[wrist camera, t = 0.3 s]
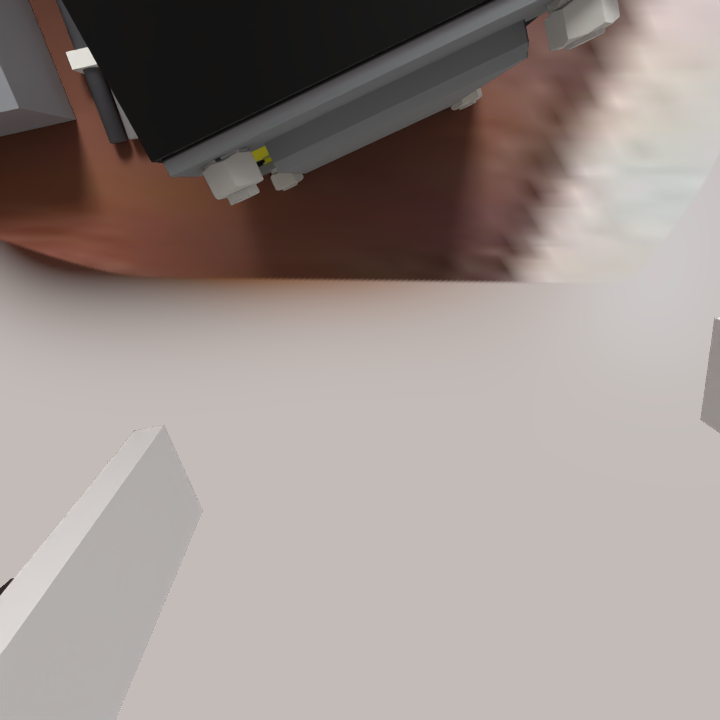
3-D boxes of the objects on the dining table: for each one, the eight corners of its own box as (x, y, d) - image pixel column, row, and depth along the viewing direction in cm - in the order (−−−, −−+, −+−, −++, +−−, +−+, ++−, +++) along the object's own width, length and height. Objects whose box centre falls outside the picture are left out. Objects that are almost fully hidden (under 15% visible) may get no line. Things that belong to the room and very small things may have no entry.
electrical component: (271, 197, 34) (185, 224, 16) (204, 53, 30) (-16, -136, 12) (486, 98, 32) (679, -6, 13) (442, -71, 28) (630, -539, 10)
